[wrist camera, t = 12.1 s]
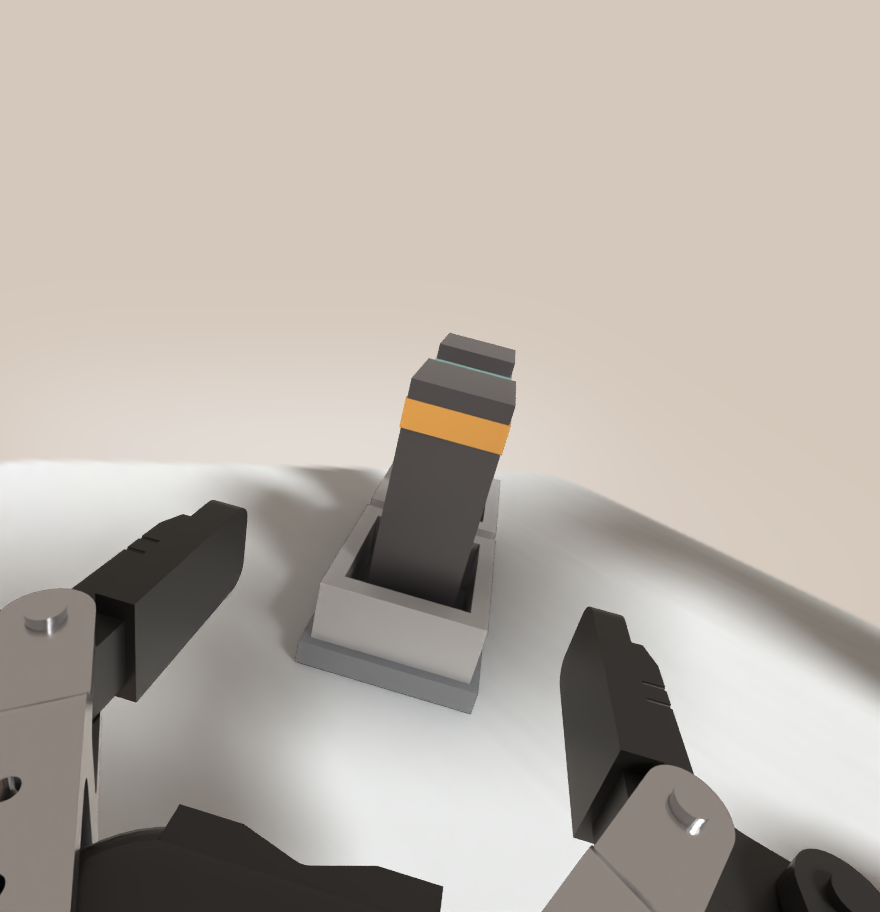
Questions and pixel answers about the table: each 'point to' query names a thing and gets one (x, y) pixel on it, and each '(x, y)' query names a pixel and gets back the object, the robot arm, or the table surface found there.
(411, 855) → the table surface
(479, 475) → the plug
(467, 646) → the grey double socket holder
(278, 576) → the table surface
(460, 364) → the twin plug
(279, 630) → the table surface
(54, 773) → the robot arm
